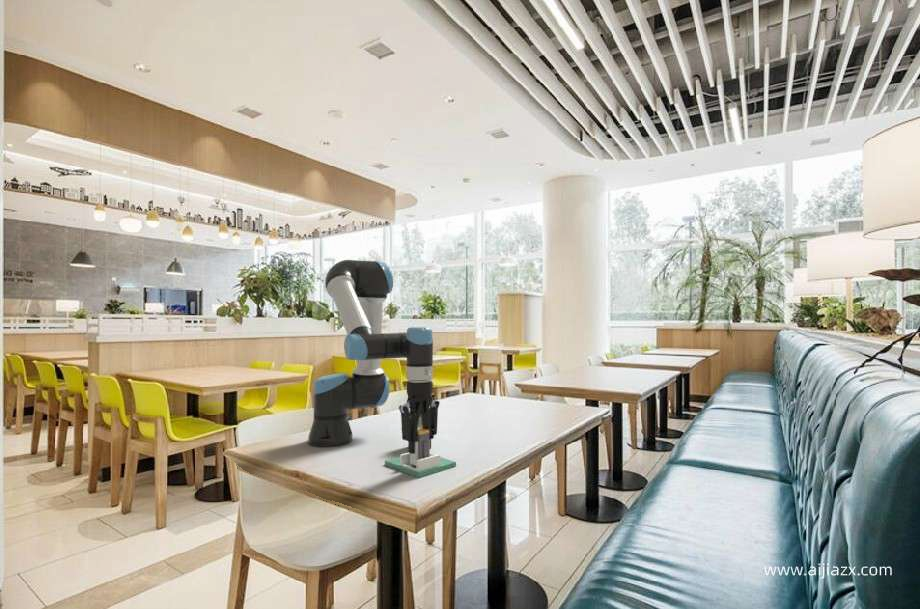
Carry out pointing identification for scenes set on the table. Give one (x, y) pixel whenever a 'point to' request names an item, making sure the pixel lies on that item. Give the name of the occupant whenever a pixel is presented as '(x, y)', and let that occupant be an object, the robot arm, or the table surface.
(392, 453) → the table surface
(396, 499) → the table surface
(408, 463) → the board
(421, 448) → the plug
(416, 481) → the table surface
